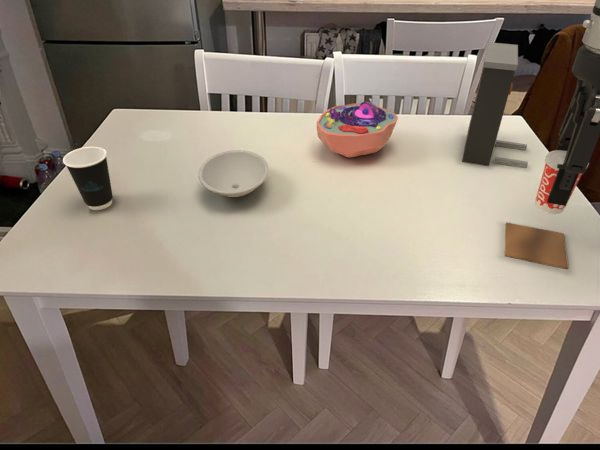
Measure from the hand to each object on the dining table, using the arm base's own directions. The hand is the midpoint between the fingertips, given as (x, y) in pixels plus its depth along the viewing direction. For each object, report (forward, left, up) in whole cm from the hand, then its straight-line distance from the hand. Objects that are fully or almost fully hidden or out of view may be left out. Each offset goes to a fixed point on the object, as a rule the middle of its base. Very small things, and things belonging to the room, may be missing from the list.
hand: (555, 191), depth 77 cm
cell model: (+40, -24, -12) cm, 48 cm away
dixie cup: (+83, +16, -12) cm, 85 cm away
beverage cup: (0, 0, -3) cm, 3 cm away
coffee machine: (+8, -34, -11) cm, 37 cm away
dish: (+59, +2, -12) cm, 60 cm away
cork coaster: (0, 0, -11) cm, 11 cm away
